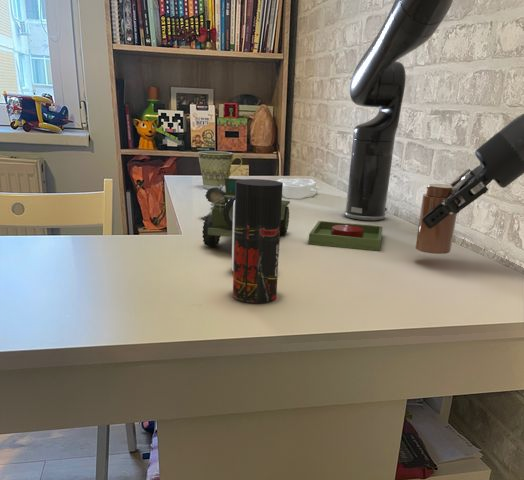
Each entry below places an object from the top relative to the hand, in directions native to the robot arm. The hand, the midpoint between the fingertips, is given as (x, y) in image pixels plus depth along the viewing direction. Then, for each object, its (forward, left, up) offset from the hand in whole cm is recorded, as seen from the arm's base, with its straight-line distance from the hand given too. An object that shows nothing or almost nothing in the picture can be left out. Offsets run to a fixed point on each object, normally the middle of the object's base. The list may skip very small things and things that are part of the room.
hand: (424, 220), depth 94 cm
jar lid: (-12, -13, -5) cm, 19 cm away
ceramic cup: (-65, -55, -7) cm, 86 cm away
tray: (-12, -13, -7) cm, 19 cm away
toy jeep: (-3, -31, -7) cm, 32 cm away
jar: (0, +2, -5) cm, 5 cm away
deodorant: (+28, -22, -7) cm, 37 cm away
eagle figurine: (-21, -41, -7) cm, 47 cm away
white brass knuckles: (-66, -33, -7) cm, 74 cm away
